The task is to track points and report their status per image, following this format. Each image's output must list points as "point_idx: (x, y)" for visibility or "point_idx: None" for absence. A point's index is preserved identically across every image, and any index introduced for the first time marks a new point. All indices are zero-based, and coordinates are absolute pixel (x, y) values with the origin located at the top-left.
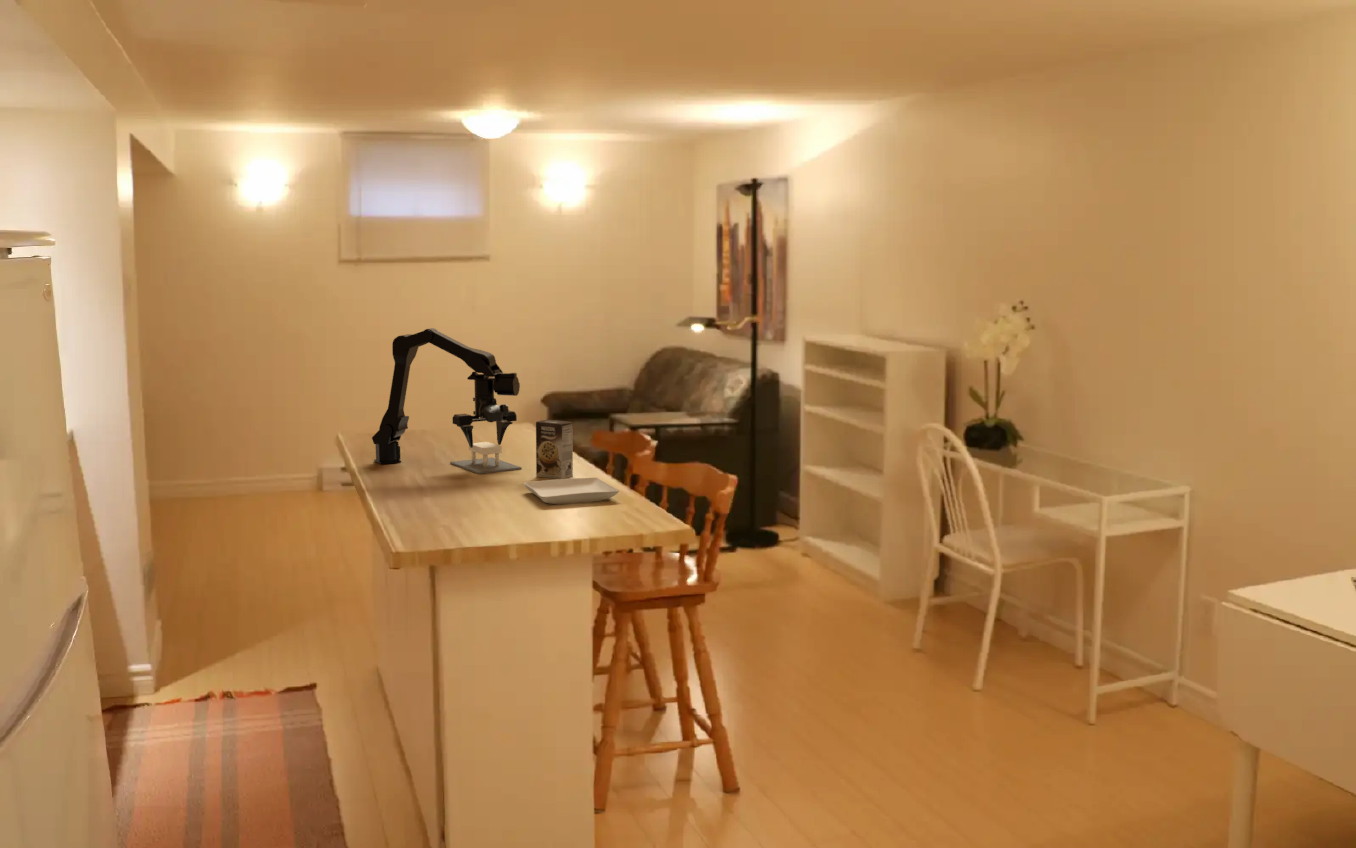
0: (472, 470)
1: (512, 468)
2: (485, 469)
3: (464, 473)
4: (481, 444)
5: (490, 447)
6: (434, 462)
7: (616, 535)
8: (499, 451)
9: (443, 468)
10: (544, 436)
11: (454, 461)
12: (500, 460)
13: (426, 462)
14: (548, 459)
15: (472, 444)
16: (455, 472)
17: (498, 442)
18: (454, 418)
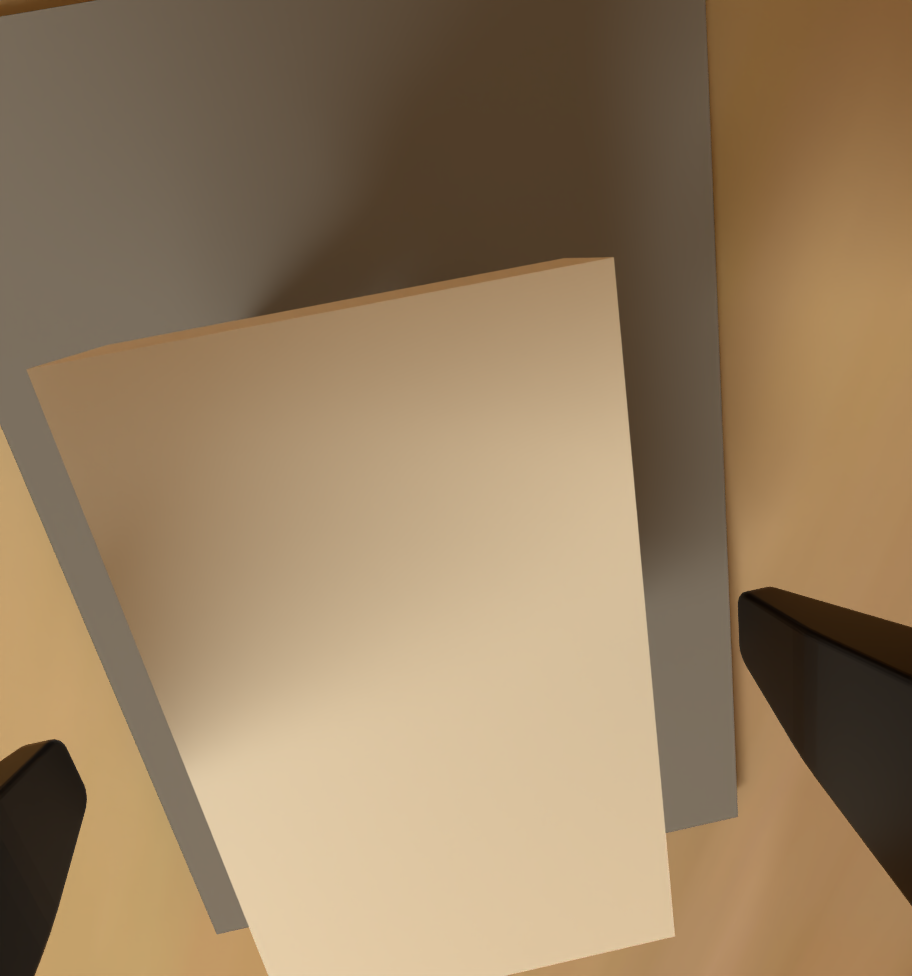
0: (707, 172)
1: (32, 14)
2: (516, 119)
3: (837, 110)
4: (479, 788)
5: (384, 305)
6: (830, 899)
7: None
8: (147, 337)
9: (903, 576)
10: None
11: (691, 820)
12: (142, 738)
13: (892, 915)
14: None
15: (791, 612)
16: (906, 251)
17: (53, 811)
18: None
